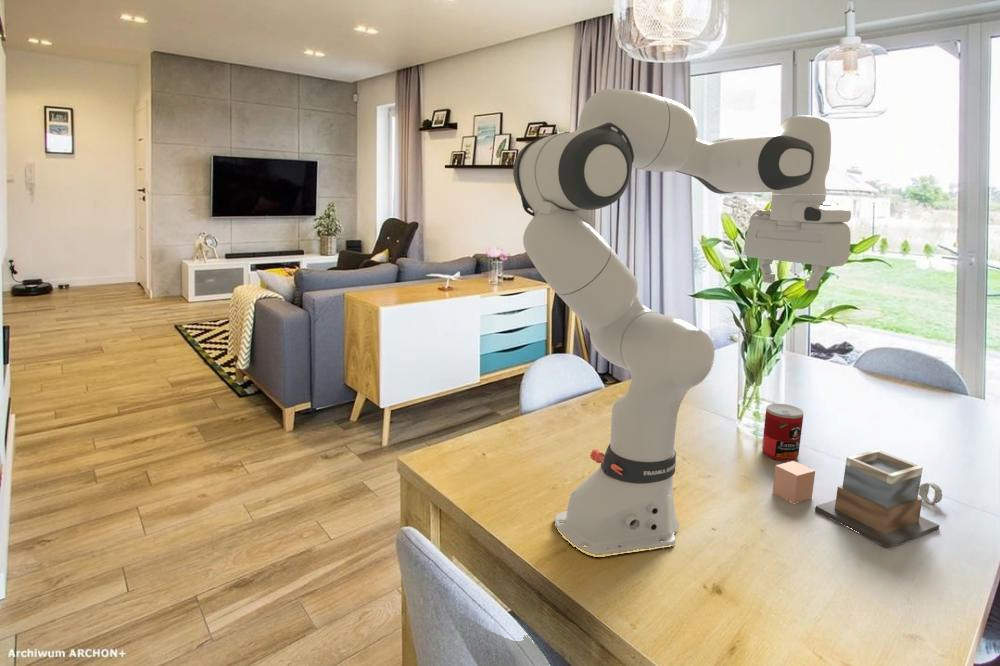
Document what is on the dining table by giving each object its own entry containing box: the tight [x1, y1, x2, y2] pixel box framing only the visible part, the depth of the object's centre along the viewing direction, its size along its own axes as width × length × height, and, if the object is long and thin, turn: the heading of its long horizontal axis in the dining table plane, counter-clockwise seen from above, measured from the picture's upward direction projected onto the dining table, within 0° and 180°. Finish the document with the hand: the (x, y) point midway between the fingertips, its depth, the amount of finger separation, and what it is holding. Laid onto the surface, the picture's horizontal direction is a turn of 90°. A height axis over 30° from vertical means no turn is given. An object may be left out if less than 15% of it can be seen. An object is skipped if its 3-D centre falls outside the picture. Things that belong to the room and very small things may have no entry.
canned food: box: [761, 403, 804, 462], centre depth 138 cm, size 8×8×11 cm
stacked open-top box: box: [814, 448, 940, 550], centre depth 110 cm, size 14×14×12 cm
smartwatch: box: [918, 482, 943, 505], centre depth 117 cm, size 4×2×4 cm, turn 14°
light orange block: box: [772, 460, 816, 504], centre depth 119 cm, size 5×5×6 cm
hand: (788, 285), depth 113 cm, fingers open, 8 cm apart
